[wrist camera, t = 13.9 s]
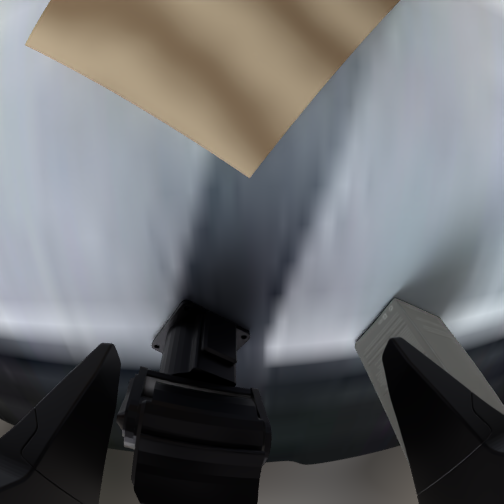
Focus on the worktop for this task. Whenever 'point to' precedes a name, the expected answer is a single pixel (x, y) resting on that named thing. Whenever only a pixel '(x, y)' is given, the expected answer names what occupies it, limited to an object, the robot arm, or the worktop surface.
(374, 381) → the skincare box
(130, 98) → the oak board
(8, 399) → the worktop surface
